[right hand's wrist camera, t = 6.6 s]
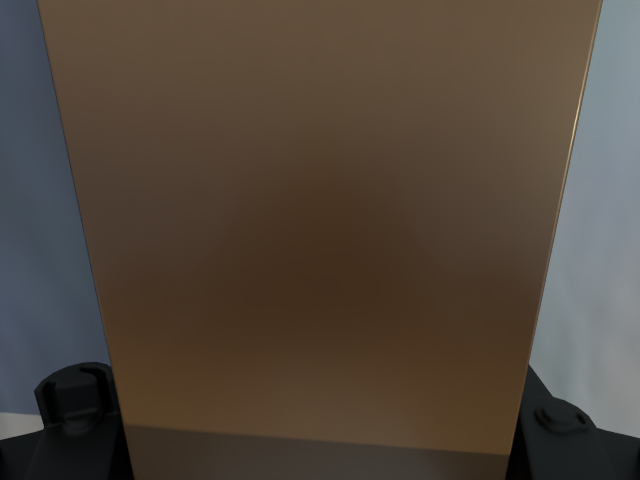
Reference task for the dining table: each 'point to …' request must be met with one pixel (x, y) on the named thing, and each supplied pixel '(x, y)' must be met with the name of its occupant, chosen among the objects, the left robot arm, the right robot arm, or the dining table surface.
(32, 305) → the dining table surface
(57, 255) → the dining table surface
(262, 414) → the post
